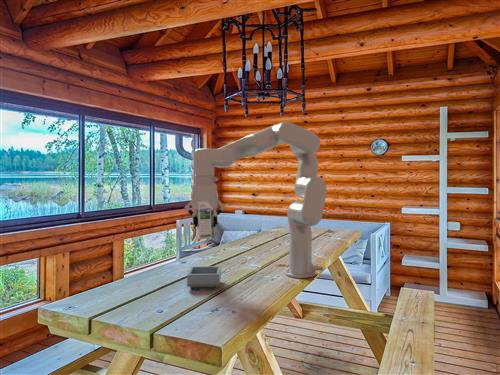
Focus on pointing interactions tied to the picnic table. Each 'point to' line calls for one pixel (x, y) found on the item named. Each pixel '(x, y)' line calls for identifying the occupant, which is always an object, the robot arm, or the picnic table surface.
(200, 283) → the grey square cubby
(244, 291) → the picnic table surface
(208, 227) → the syrup box
